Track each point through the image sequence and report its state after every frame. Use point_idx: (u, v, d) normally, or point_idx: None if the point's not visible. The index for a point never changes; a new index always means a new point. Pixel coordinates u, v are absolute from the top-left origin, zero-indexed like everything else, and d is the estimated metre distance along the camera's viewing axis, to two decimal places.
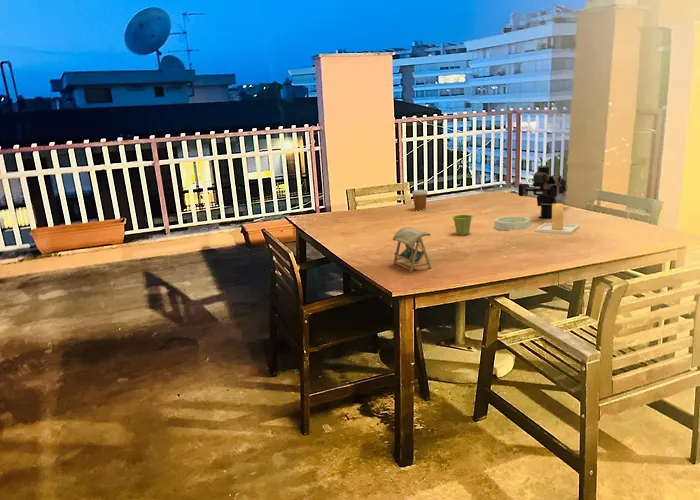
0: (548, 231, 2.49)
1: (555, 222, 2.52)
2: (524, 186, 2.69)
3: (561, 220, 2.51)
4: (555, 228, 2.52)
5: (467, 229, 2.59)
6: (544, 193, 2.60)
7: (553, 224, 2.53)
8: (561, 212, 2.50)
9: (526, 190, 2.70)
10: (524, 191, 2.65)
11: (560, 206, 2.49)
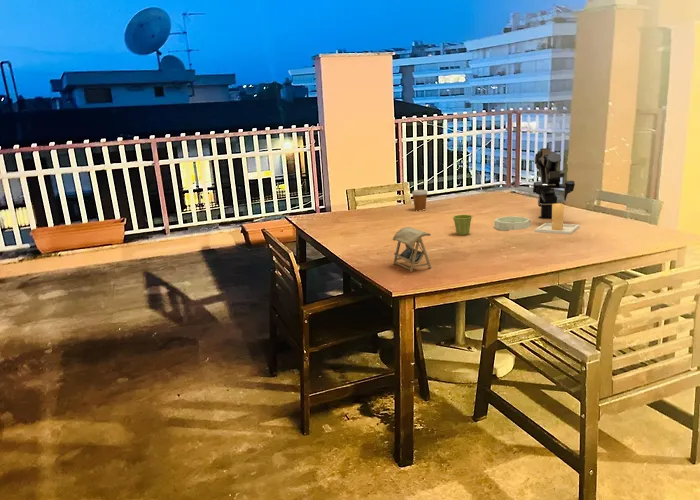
0: (548, 231, 2.49)
1: (555, 222, 2.52)
2: (541, 188, 2.61)
3: (561, 220, 2.51)
4: (555, 228, 2.52)
5: (467, 229, 2.59)
6: None
7: (553, 224, 2.53)
8: (561, 212, 2.50)
9: None
10: (545, 198, 2.60)
11: (560, 206, 2.49)
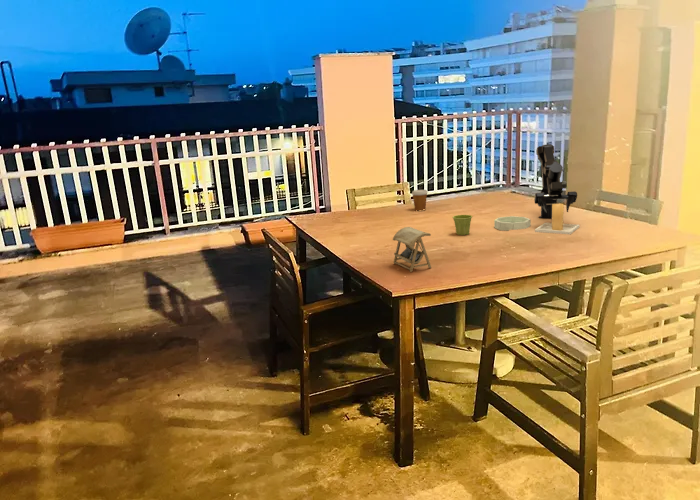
0: (548, 231, 2.49)
1: (555, 222, 2.52)
2: (543, 199, 2.56)
3: (561, 220, 2.51)
4: (555, 228, 2.52)
5: (467, 229, 2.59)
6: (568, 209, 2.53)
7: (553, 224, 2.53)
8: (561, 212, 2.50)
9: None
10: (547, 209, 2.55)
11: (560, 206, 2.49)
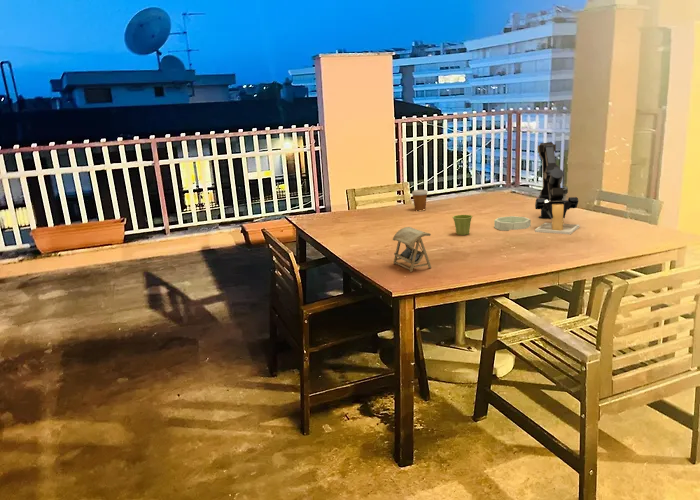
0: (548, 231, 2.49)
1: (555, 222, 2.52)
2: (548, 204, 2.54)
3: (561, 220, 2.51)
4: (555, 228, 2.52)
5: (467, 229, 2.59)
6: None
7: (553, 224, 2.53)
8: (561, 212, 2.50)
9: None
10: (552, 215, 2.52)
11: (560, 206, 2.49)
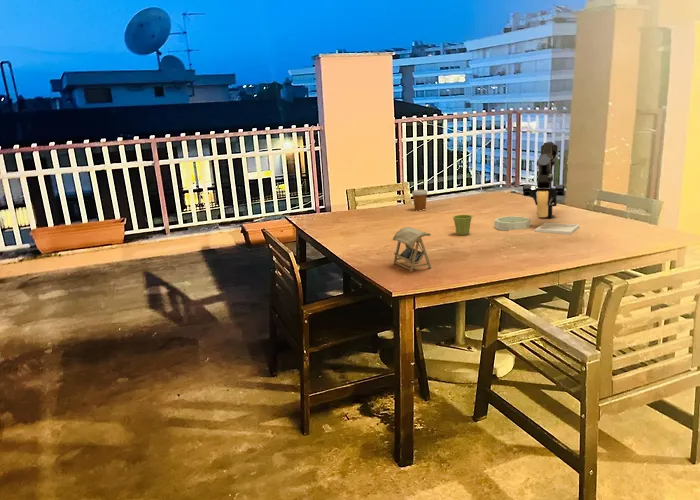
0: (548, 231, 2.49)
1: (539, 209, 2.55)
2: (534, 191, 2.58)
3: (545, 207, 2.54)
4: (539, 215, 2.56)
5: (467, 229, 2.59)
6: (549, 202, 2.54)
7: (537, 210, 2.57)
8: (545, 199, 2.53)
9: None
10: (536, 201, 2.56)
11: (544, 193, 2.53)
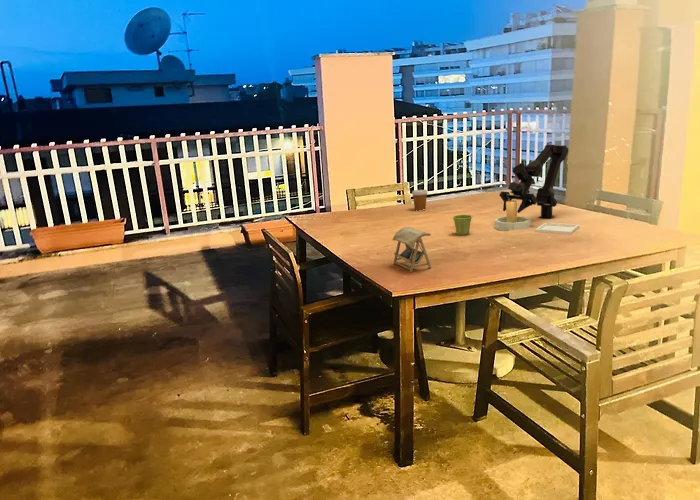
0: (548, 231, 2.49)
1: (507, 218, 2.67)
2: (504, 198, 2.70)
3: (511, 216, 2.65)
4: None
5: (467, 229, 2.59)
6: (519, 210, 2.62)
7: None
8: (511, 209, 2.64)
9: (508, 200, 2.71)
10: (504, 208, 2.68)
11: (509, 203, 2.64)
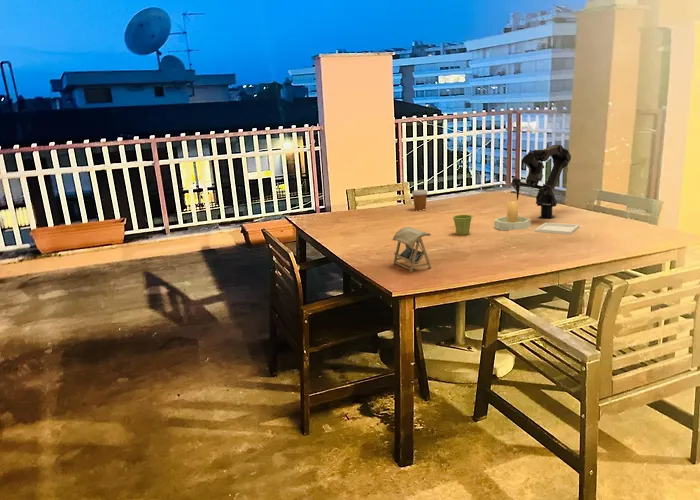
0: (548, 231, 2.49)
1: (507, 218, 2.67)
2: (517, 186, 2.69)
3: (512, 217, 2.65)
4: None
5: (467, 229, 2.59)
6: (537, 201, 2.67)
7: (507, 219, 2.68)
8: (512, 209, 2.64)
9: (519, 187, 2.71)
10: (518, 196, 2.69)
11: (510, 203, 2.63)
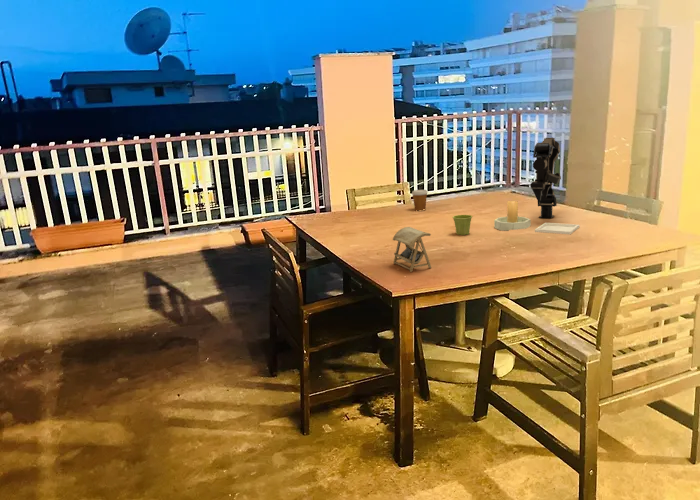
0: (548, 231, 2.49)
1: (507, 218, 2.67)
2: (543, 189, 2.63)
3: (512, 217, 2.65)
4: None
5: (467, 229, 2.59)
6: None
7: (507, 219, 2.68)
8: (512, 209, 2.64)
9: None
10: (540, 198, 2.66)
11: (510, 203, 2.63)
